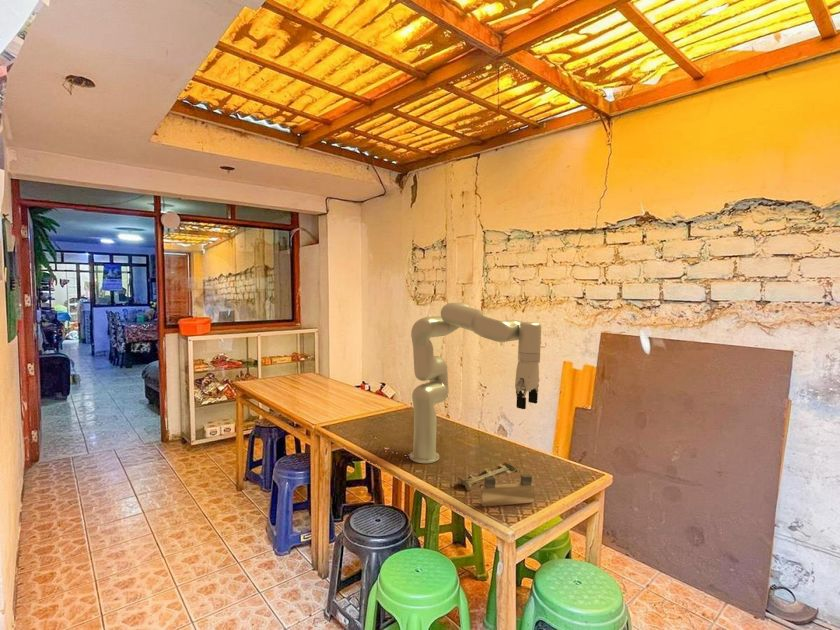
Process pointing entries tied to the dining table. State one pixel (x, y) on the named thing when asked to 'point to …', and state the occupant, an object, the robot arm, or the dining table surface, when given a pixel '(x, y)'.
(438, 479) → the dining table surface
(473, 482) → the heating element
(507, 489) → the notched board
